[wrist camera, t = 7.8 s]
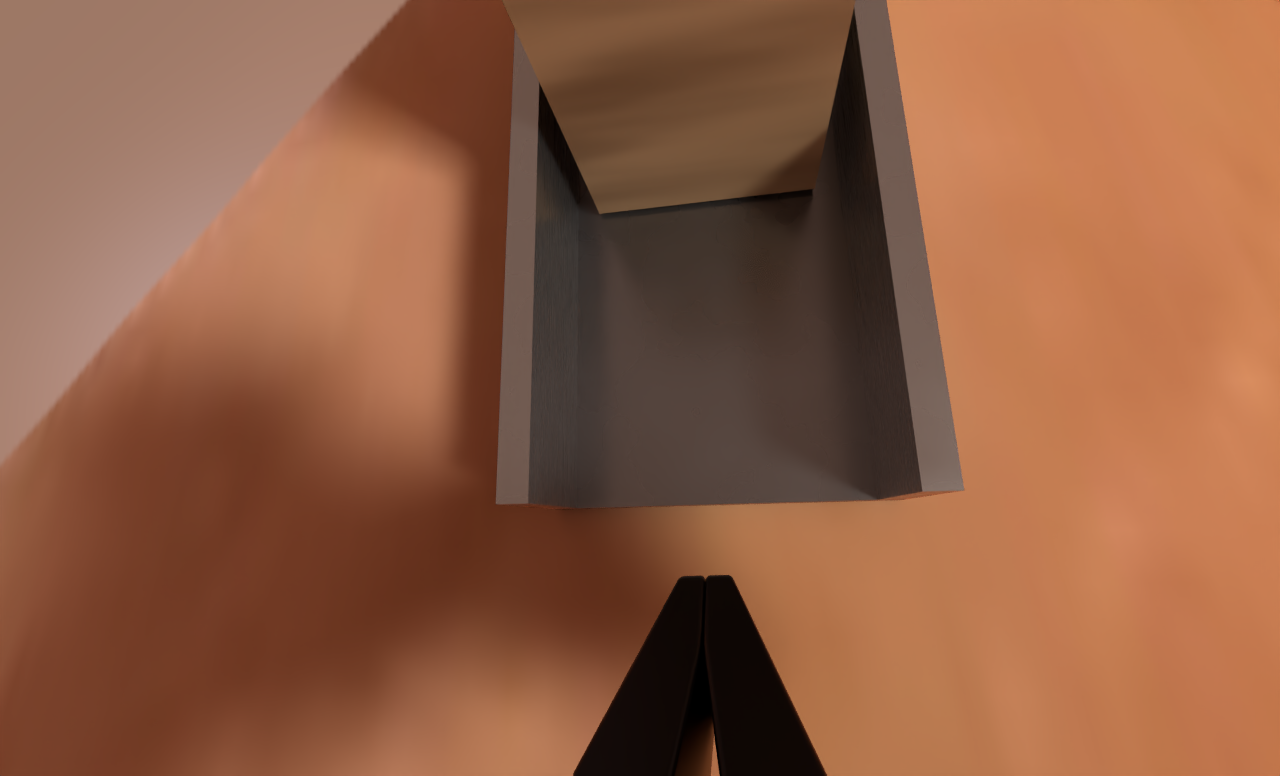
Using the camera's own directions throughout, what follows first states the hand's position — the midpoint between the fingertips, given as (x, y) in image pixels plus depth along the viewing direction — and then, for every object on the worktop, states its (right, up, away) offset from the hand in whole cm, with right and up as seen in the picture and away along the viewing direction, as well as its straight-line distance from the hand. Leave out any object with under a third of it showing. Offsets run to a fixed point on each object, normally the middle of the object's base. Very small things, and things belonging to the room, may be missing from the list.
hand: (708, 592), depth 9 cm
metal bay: (+1, +10, +10) cm, 14 cm away
